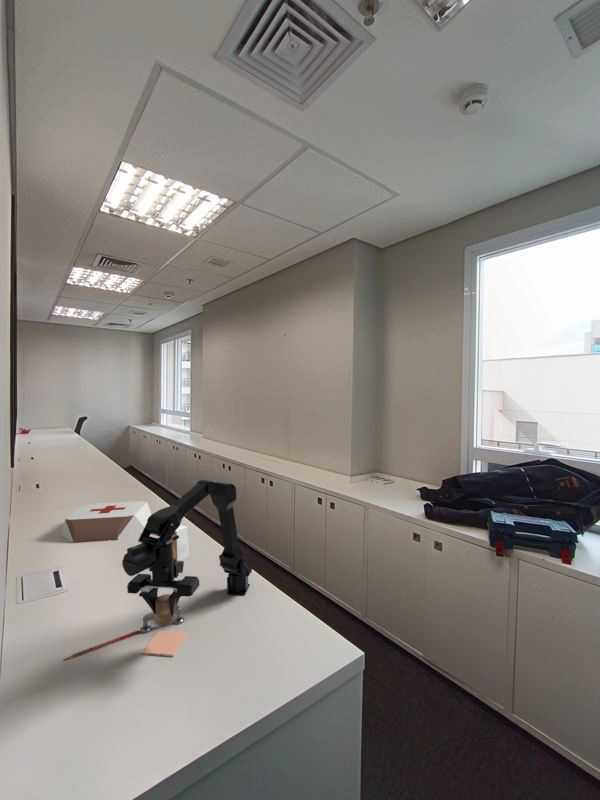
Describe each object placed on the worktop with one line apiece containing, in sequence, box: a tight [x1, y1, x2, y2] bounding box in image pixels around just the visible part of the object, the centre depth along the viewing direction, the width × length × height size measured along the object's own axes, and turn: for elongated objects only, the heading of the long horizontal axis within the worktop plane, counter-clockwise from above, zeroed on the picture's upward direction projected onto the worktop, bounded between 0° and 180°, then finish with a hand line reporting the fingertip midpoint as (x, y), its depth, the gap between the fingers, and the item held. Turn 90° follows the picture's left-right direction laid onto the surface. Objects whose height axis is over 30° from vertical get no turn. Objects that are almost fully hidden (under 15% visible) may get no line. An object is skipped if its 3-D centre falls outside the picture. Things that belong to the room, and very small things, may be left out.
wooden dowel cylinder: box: [155, 593, 175, 626], centre depth 105 cm, size 5×5×6 cm
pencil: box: [62, 629, 140, 661], centre depth 105 cm, size 19×1×1 cm, turn 125°
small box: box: [173, 524, 190, 561], centre depth 158 cm, size 8×6×13 cm
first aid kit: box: [61, 500, 153, 544], centre depth 194 cm, size 34×41×10 cm
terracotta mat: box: [141, 630, 189, 657], centre depth 105 cm, size 9×9×1 cm
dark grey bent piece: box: [139, 605, 185, 634], centre depth 116 cm, size 11×13×4 cm
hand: (164, 614), depth 105 cm, fingers closed on wooden dowel cylinder, 5 cm apart
